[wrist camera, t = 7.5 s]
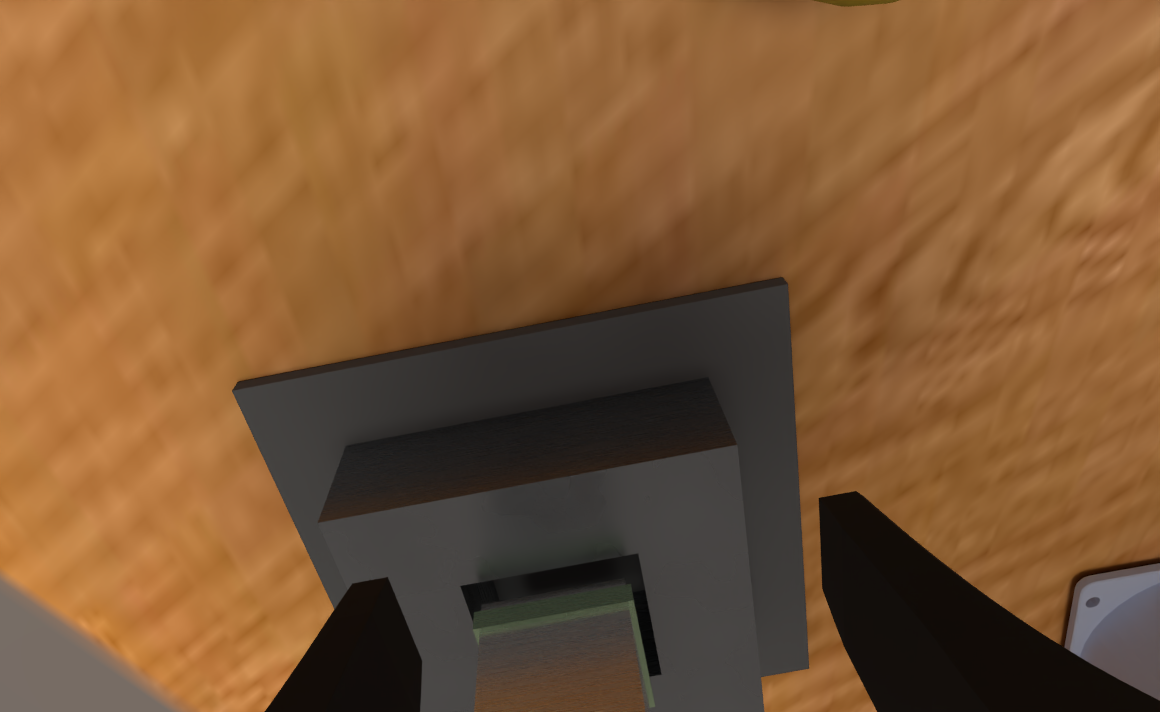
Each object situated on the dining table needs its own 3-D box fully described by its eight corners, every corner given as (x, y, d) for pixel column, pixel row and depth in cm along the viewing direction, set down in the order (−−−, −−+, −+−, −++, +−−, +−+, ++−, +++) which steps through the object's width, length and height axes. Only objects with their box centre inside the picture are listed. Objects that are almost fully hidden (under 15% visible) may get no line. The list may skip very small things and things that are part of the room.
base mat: (804, 657, 29) (809, 668, 29) (398, 729, 30) (396, 741, 29) (782, 277, 22) (788, 284, 21) (238, 382, 22) (232, 390, 22)
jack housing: (739, 642, 28) (765, 728, 25) (445, 694, 28) (435, 785, 25) (708, 377, 22) (737, 444, 19) (345, 445, 23) (317, 522, 20)
